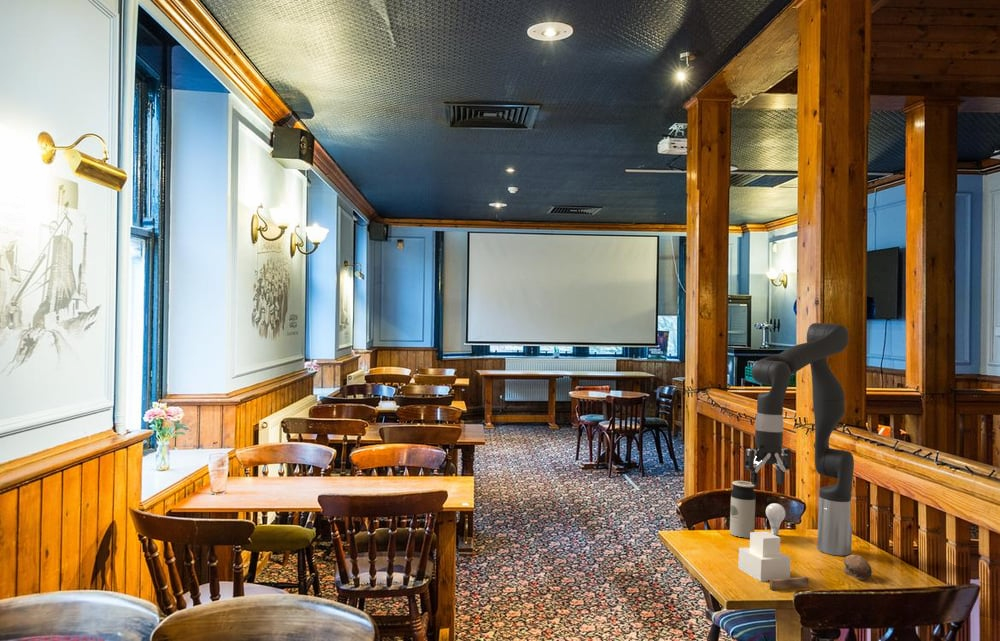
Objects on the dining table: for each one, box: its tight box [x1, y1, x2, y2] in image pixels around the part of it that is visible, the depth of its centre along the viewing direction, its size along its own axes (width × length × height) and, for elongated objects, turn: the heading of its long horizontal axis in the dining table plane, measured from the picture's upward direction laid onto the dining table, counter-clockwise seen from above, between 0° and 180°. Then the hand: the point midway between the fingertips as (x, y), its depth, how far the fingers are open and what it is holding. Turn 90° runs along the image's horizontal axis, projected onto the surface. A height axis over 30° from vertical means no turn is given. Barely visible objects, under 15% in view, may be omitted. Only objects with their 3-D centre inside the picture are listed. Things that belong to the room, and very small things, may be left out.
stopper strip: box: [769, 576, 810, 591], centre depth 182 cm, size 12×1×2 cm, turn 106°
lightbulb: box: [765, 503, 786, 536], centre depth 230 cm, size 6×6×11 cm
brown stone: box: [843, 554, 873, 581], centre depth 193 cm, size 8×8×6 cm
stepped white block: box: [737, 530, 792, 582], centre depth 192 cm, size 10×10×11 cm
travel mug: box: [729, 480, 756, 539], centre depth 228 cm, size 8×8×18 cm
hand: (767, 484), depth 192 cm, fingers open, 8 cm apart
